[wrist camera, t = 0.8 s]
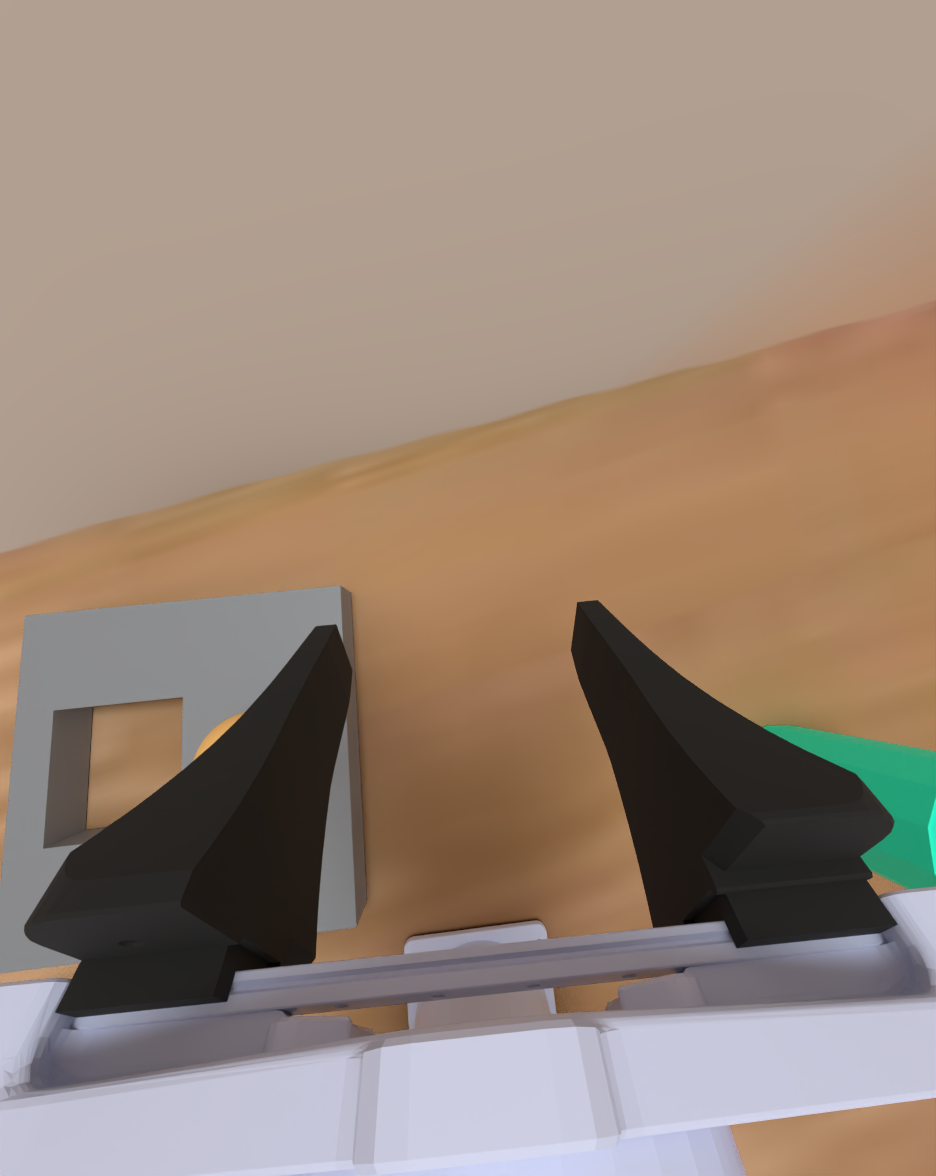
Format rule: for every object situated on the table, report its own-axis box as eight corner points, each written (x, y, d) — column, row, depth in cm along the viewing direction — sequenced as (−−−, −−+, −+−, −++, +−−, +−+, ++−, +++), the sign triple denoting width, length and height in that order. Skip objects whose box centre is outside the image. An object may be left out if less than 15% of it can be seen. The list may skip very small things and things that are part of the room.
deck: (367, 900, 24) (356, 927, 21) (41, 941, 23) (-8, 974, 20) (351, 592, 27) (340, 585, 24) (65, 620, 26) (24, 615, 24)
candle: (722, 739, 26) (945, 802, 14) (809, 712, 26) (1095, 750, 14) (760, 840, 25) (1034, 999, 13) (849, 810, 25) (1194, 937, 13)
